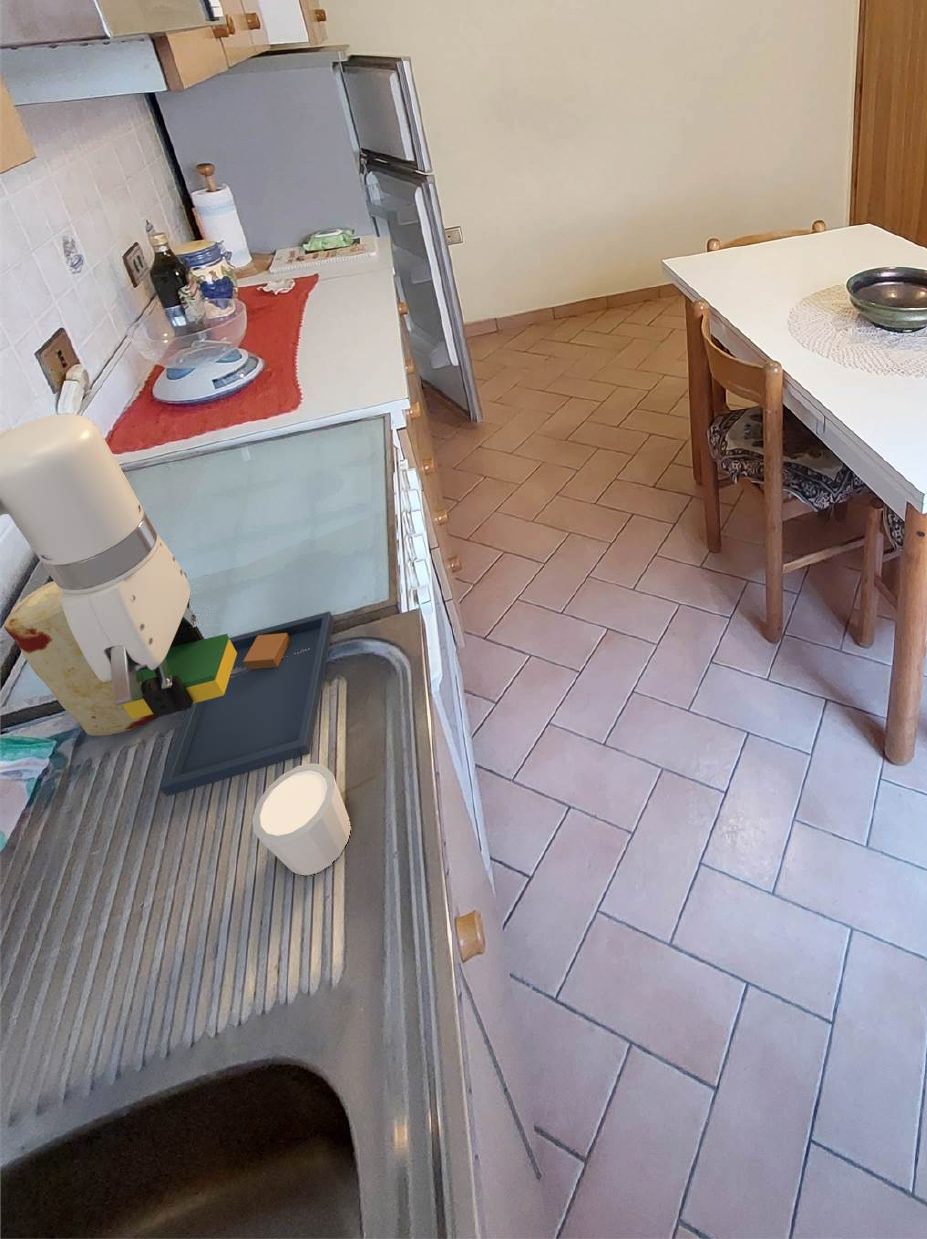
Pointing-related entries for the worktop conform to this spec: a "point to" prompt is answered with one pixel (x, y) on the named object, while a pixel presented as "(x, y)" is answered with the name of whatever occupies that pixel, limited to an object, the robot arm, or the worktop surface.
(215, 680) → the sponge
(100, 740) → the worktop surface
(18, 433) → the robot arm
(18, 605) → the food model
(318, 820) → the white cylinder
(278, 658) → the orange flat block
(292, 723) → the tray
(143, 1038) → the worktop surface
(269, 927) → the worktop surface
